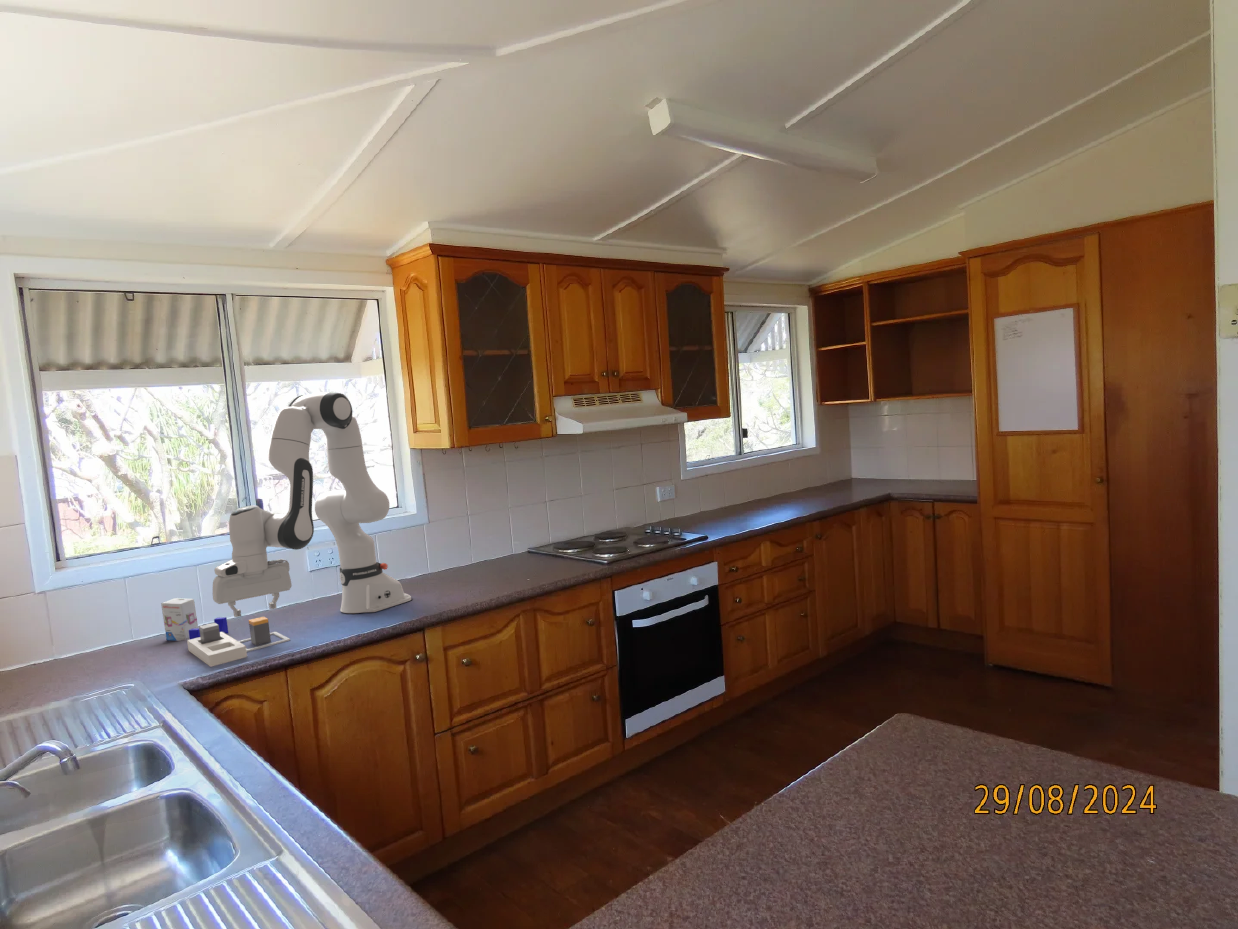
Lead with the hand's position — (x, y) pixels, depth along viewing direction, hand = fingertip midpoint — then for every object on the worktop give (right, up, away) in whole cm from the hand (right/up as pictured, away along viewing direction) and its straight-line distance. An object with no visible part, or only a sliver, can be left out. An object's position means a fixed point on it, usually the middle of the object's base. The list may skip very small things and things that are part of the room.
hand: (255, 612), depth 216 cm
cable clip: (-18, -11, +9) cm, 23 cm away
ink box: (-29, -11, +16) cm, 35 cm away
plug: (+1, -9, +1) cm, 9 cm away
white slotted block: (-7, -11, -6) cm, 15 cm away
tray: (+1, -10, +1) cm, 10 cm away
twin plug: (-11, -10, -3) cm, 15 cm away
